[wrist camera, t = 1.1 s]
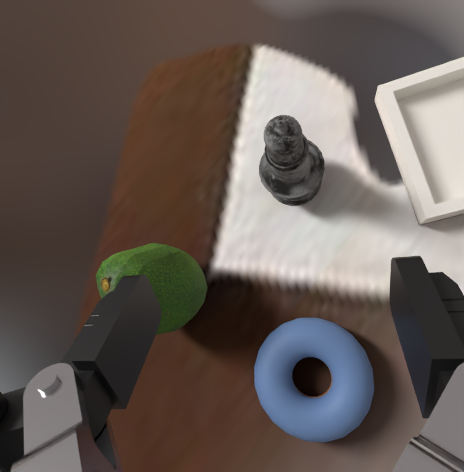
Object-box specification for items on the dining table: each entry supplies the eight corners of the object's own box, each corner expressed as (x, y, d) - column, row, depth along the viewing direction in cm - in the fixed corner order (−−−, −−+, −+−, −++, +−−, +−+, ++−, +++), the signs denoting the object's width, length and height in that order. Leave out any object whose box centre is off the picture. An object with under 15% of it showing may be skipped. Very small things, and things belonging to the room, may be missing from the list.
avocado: (160, 243, 38) (89, 217, 27) (227, 265, 36) (181, 247, 24) (135, 315, 37) (51, 321, 26) (202, 342, 35) (142, 361, 24)
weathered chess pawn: (319, 146, 36) (316, 73, 24) (329, 202, 34) (330, 152, 23) (261, 158, 37) (232, 94, 26) (269, 213, 36) (242, 170, 24)
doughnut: (381, 328, 31) (383, 335, 27) (365, 446, 30) (364, 472, 26) (271, 305, 35) (258, 307, 31) (254, 410, 34) (238, 427, 30)
